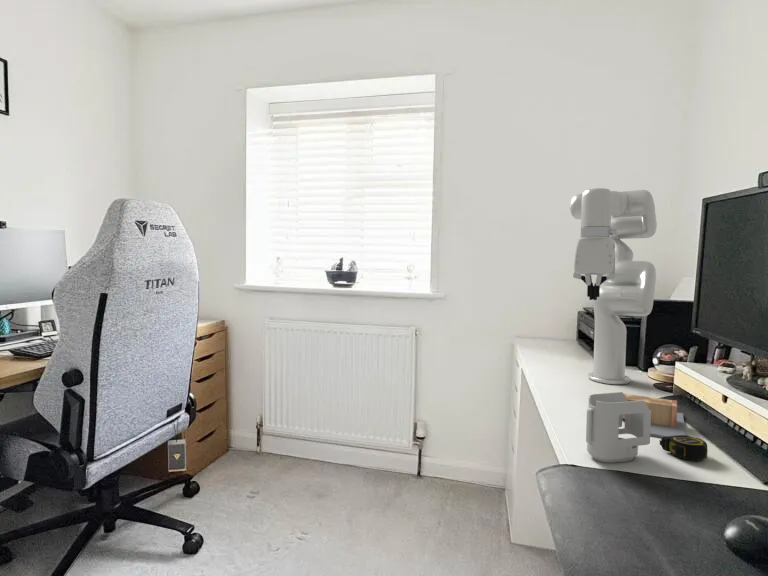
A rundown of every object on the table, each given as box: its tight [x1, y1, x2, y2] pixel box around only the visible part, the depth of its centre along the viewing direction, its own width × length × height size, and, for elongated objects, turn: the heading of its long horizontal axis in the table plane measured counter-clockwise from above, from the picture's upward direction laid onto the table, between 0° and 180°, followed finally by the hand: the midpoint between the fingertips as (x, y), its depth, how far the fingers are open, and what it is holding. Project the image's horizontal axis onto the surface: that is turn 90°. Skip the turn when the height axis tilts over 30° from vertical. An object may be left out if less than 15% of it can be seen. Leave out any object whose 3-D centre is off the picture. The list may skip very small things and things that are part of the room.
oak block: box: [622, 392, 678, 427], centre depth 110 cm, size 5×5×12 cm
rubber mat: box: [650, 412, 686, 439], centre depth 109 cm, size 20×12×1 cm, turn 147°
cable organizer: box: [585, 391, 651, 464], centre depth 90 cm, size 7×13×12 cm, turn 103°
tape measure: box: [659, 434, 709, 461], centre depth 91 cm, size 7×7×4 cm
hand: (593, 299), depth 124 cm, fingers closed
